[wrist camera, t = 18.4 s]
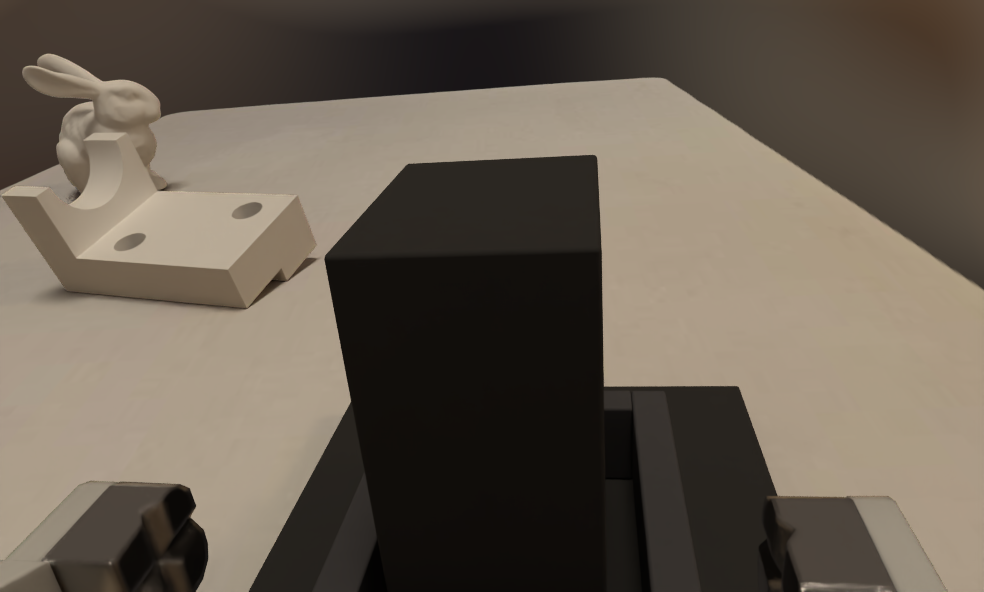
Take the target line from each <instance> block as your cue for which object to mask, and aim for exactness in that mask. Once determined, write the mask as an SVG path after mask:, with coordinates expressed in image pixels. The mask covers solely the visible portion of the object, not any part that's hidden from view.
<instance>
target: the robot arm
mask: <svg viewBox="0 0 984 592" xmlns="http://www.w3.org/2000/svg"><path fill="white" fill-rule="evenodd" d="M195 507H196V504H195V502H194V499H193V496H192V494H191V491H190V488H188V487H185V486H183V485H181V484H164V483H142V482H106V481H89V482H86V483H83V484H80V485H78V486H77V487H76V488H75V489H74V490H73V491H72V492H71V493H70V494H69V495H68V496H67V497H66V498H65V499H64V500H63V501H62V502H61V503H60V504H59V505H58V506H57V507H56V508H55V509H54V510H53V511H52V512H51V513H50V514H49V515H48V516H47V518H46V519H45V520H44V521H43V522H42V523H41V524H40V525H39V526H38V527H37V528H36V529H35V530H34V531H33V532H32V533H31V534H30V535H29V536H28V537H27V538H26V539H25V540H24V541H23V542H22V543H21V544H20V545H19V546H18V547H17V548H16V549H15V550H14V551H13V552H12V553H11V554H10V555H9V556H8V557H7V558H6V559H5V560H0V592H196V590H197V588H198V587H199V585H200V583H201V582H202V580H203V577H204V573H205V569H206V566H207V562H208V542H207V539H206V536H205V532H204V530H203V529H202V528H201V527H200V526H199V525H198V524H197V523H196V522H195V521H194V520H192V519H191V518H190V517H191V515H192V513H193V511H194V509H195ZM761 522H762V525H763V528H764V532H765V535H766V538H767V539H766V540H764V541H763V542H762V543H761V544H760V545H759V546H758V560H757V574H758V589H759V592H948V591H947V589H946V587H945V586H944V584H943V582H942V580H941V579H940V577H939V575H938V574H937V572H936V570H935V568H934V567H933V565H932V563H931V561H930V560H929V558H928V556H927V555H926V553H925V551H924V549H923V548H922V546H921V544H920V542H919V541H918V539H917V537H916V536H915V534H914V532H913V530H912V529H911V527H910V525H909V524H908V522H907V520H906V518H905V517H904V515H903V513H902V511H901V510H900V508H899V506H898V505H897V503H896V501H895V500H893V499H892V498H890V497H889V496H847V497H808V496H766V497H765V499H764V502H763V507H762V516H761Z"/></svg>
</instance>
